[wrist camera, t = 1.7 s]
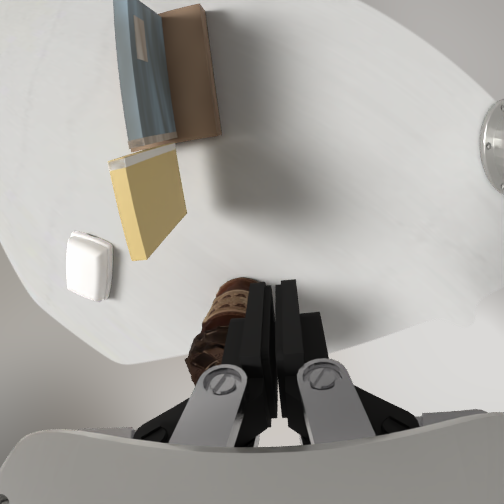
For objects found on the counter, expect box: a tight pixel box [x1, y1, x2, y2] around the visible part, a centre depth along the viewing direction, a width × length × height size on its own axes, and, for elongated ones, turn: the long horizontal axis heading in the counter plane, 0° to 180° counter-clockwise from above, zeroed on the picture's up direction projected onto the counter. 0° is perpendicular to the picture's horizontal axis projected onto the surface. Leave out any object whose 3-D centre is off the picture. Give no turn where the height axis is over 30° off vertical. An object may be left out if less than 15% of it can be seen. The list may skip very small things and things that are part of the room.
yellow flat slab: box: [107, 142, 187, 261], centre depth 24 cm, size 1×7×10 cm, turn 8°
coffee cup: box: [185, 278, 259, 386], centre depth 32 cm, size 9×8×13 cm
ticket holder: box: [113, 0, 222, 152], centre depth 23 cm, size 9×14×10 cm, turn 7°
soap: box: [66, 231, 113, 302], centre depth 37 cm, size 9×7×3 cm
